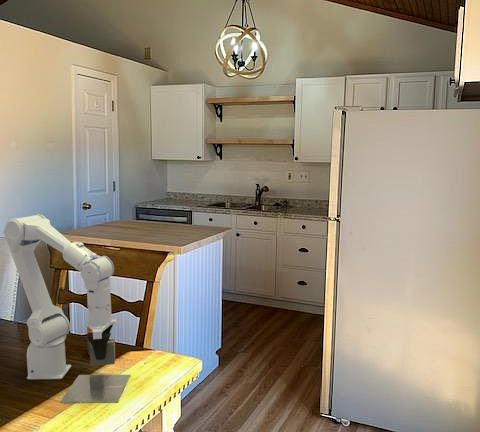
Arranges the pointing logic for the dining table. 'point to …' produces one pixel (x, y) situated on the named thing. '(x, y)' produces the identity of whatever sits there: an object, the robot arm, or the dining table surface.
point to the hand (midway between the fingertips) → (101, 355)
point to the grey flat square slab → (96, 389)
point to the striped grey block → (108, 358)
